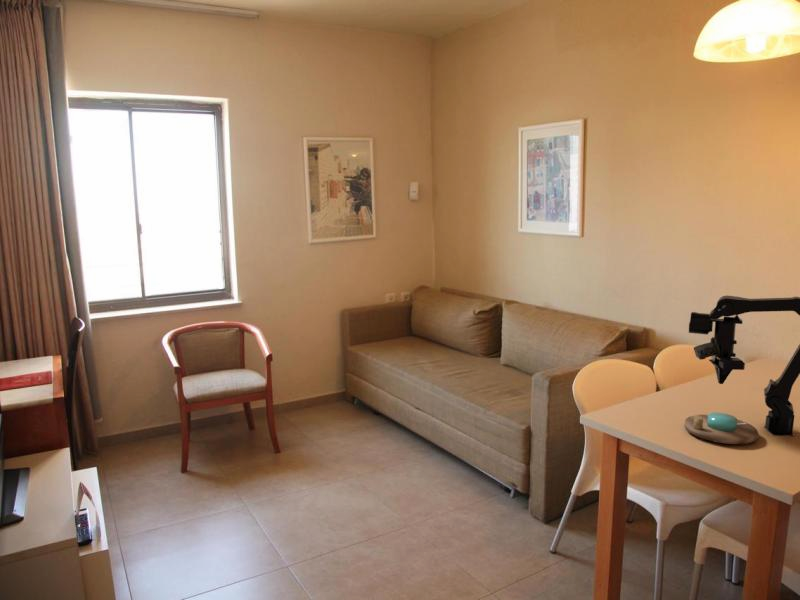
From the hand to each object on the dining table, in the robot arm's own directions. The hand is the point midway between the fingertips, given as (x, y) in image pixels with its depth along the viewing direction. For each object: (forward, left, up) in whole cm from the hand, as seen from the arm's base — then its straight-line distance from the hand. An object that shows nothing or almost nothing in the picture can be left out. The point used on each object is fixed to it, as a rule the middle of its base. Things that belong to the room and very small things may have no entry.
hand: (720, 383), depth 201 cm
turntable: (+3, +11, -13) cm, 17 cm away
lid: (+3, +11, -10) cm, 15 cm away
